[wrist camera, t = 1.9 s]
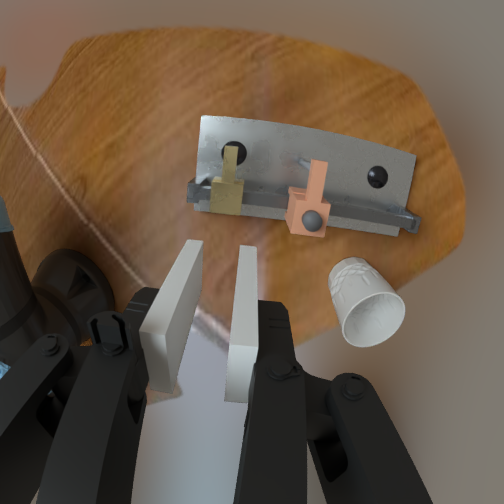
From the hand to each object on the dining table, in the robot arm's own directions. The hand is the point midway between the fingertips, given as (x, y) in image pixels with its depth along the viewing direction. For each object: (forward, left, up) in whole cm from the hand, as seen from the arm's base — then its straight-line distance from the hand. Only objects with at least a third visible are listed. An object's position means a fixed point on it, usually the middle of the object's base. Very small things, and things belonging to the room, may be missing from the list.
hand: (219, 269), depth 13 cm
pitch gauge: (+8, +2, -20) cm, 22 cm away
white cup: (+17, -10, -21) cm, 28 cm away
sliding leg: (+7, +2, -19) cm, 20 cm away
